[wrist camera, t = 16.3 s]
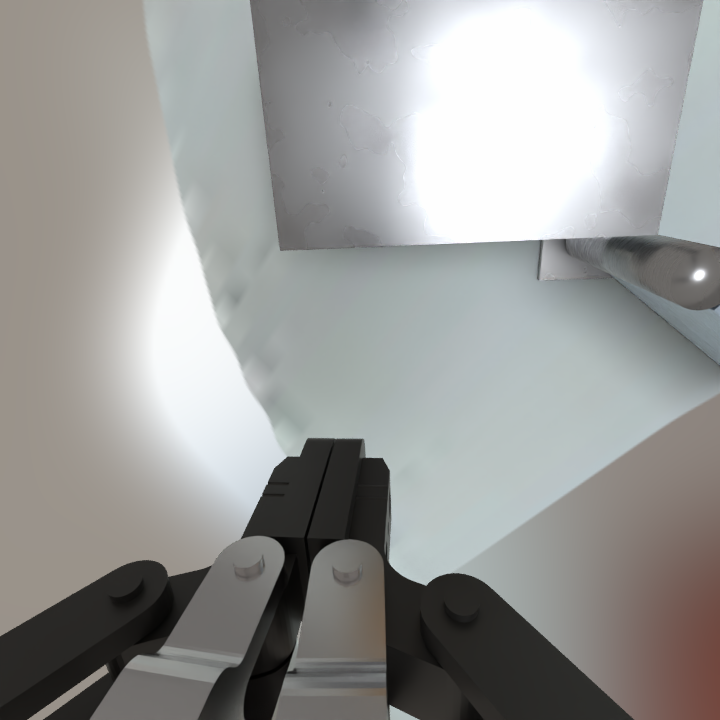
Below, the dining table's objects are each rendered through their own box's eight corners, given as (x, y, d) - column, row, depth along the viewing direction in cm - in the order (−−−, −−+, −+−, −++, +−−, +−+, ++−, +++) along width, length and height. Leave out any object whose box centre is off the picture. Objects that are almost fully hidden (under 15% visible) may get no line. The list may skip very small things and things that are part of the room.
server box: (328, 285, 31) (290, 334, 21) (310, 55, 26) (246, -26, 16) (615, 276, 29) (725, 326, 19) (656, 22, 24) (840, -98, 14)
